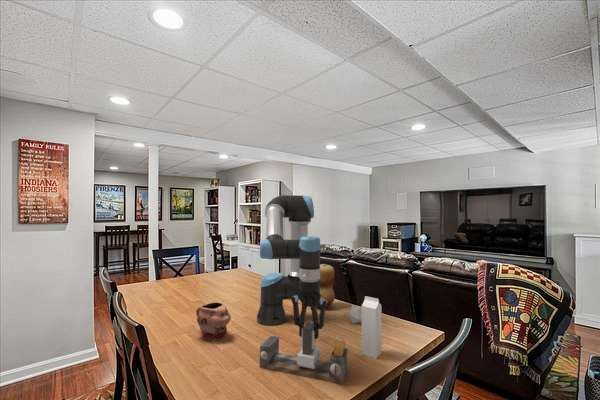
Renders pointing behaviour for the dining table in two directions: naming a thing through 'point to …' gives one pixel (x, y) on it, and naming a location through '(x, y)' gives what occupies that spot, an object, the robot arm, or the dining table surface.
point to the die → (356, 314)
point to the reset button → (338, 347)
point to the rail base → (288, 364)
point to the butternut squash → (326, 284)
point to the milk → (371, 327)
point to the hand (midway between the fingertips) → (308, 346)
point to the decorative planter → (213, 320)
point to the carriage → (308, 349)
